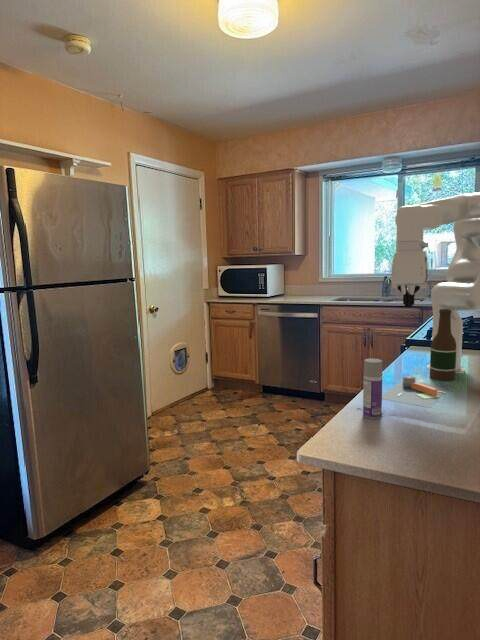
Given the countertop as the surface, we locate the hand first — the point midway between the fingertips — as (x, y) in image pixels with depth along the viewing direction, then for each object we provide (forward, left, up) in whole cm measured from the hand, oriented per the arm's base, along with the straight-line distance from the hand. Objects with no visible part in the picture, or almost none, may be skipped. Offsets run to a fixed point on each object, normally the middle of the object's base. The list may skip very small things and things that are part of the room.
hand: (408, 306), depth 134 cm
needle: (+7, +6, -24) cm, 26 cm away
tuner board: (+9, +5, -26) cm, 27 cm away
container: (+31, 0, -26) cm, 40 cm away
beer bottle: (-11, +8, -26) cm, 29 cm away
